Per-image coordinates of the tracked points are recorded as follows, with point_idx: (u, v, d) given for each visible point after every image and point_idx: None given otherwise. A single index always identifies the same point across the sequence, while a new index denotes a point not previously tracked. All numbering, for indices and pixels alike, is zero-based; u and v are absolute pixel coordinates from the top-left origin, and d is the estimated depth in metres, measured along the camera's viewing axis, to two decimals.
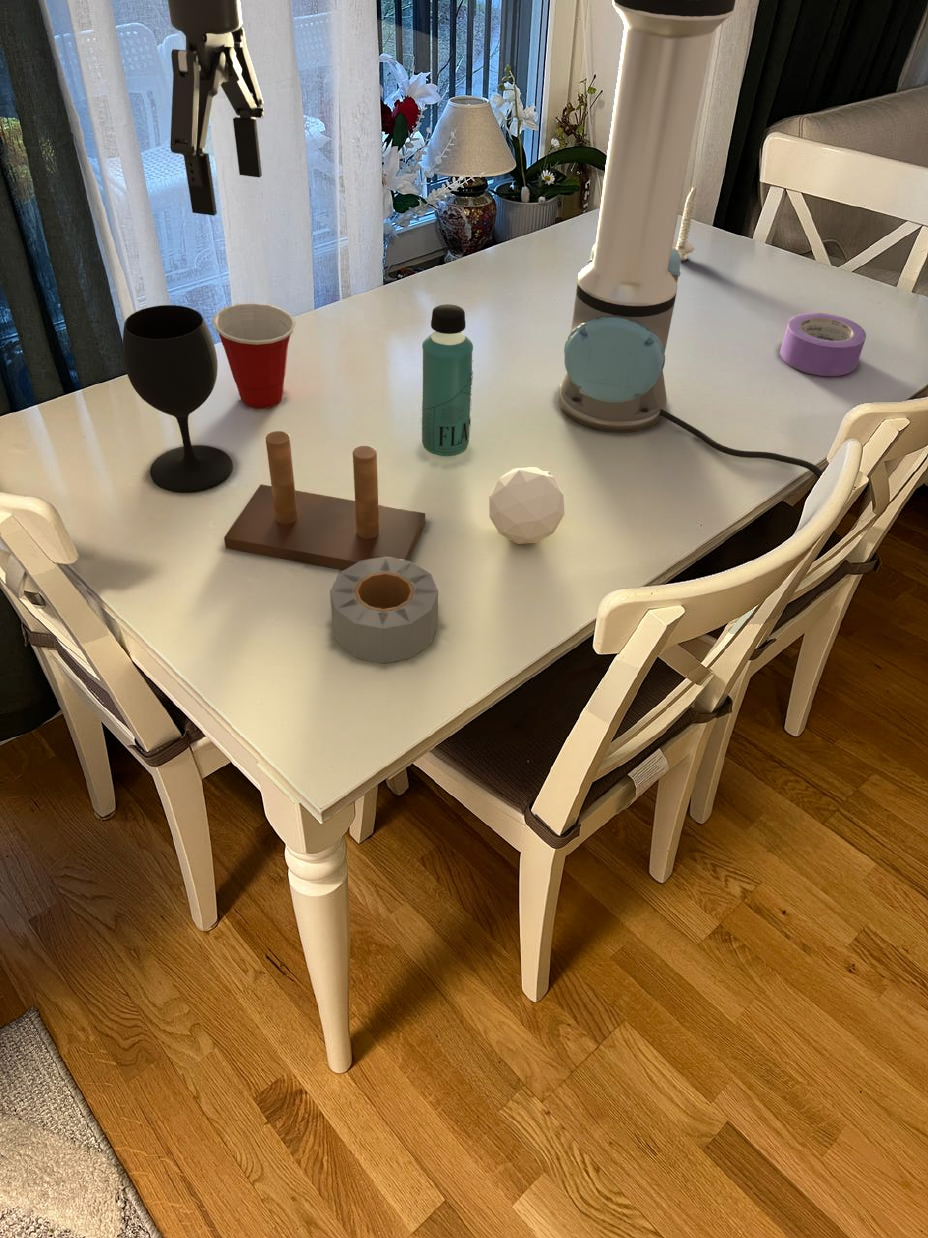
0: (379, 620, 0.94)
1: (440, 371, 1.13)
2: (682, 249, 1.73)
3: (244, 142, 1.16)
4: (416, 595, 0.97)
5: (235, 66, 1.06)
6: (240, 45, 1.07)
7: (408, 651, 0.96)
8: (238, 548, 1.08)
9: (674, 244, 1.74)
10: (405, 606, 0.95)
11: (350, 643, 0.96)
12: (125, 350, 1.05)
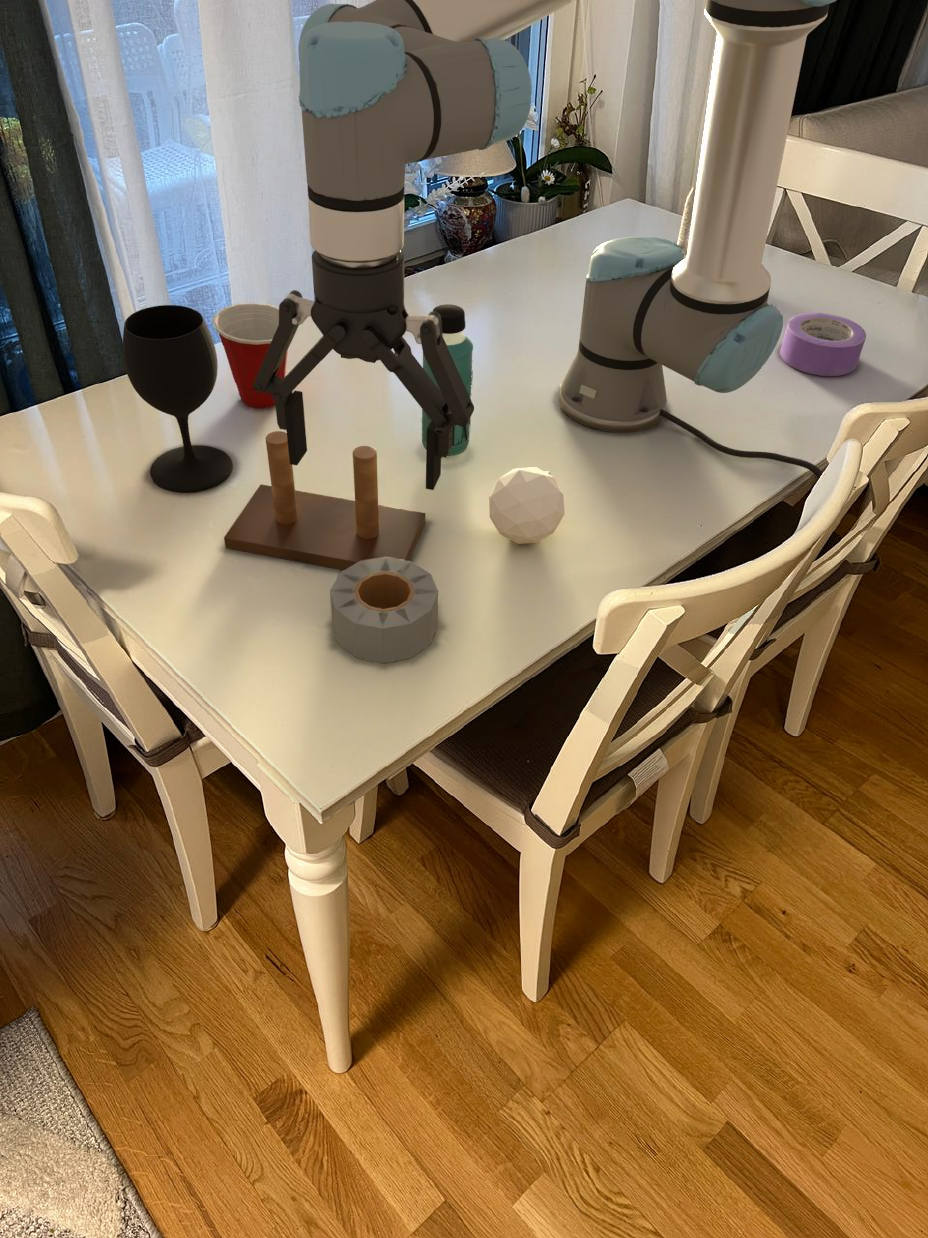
0: (379, 620, 0.94)
1: None
2: (682, 249, 1.73)
3: None
4: (416, 595, 0.97)
5: (380, 354, 0.80)
6: (416, 340, 0.79)
7: (408, 651, 0.96)
8: (238, 548, 1.08)
9: None
10: (405, 606, 0.95)
11: (350, 643, 0.96)
12: (125, 350, 1.05)
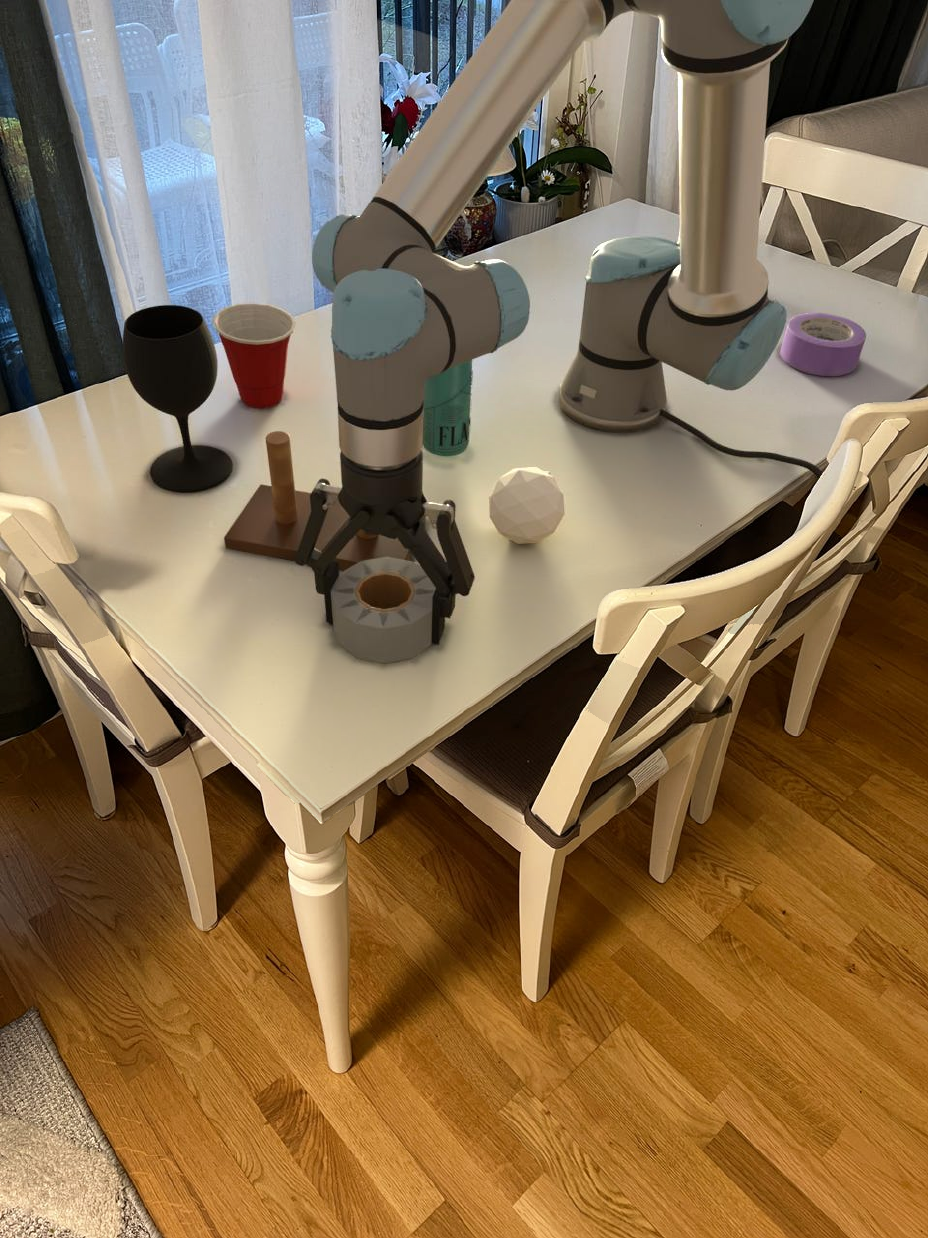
0: (380, 620, 0.94)
1: None
2: None
3: None
4: (417, 595, 0.97)
5: (399, 534, 0.89)
6: (432, 526, 0.88)
7: (409, 651, 0.96)
8: (238, 548, 1.08)
9: None
10: (406, 606, 0.95)
11: (350, 644, 0.96)
12: (125, 350, 1.05)
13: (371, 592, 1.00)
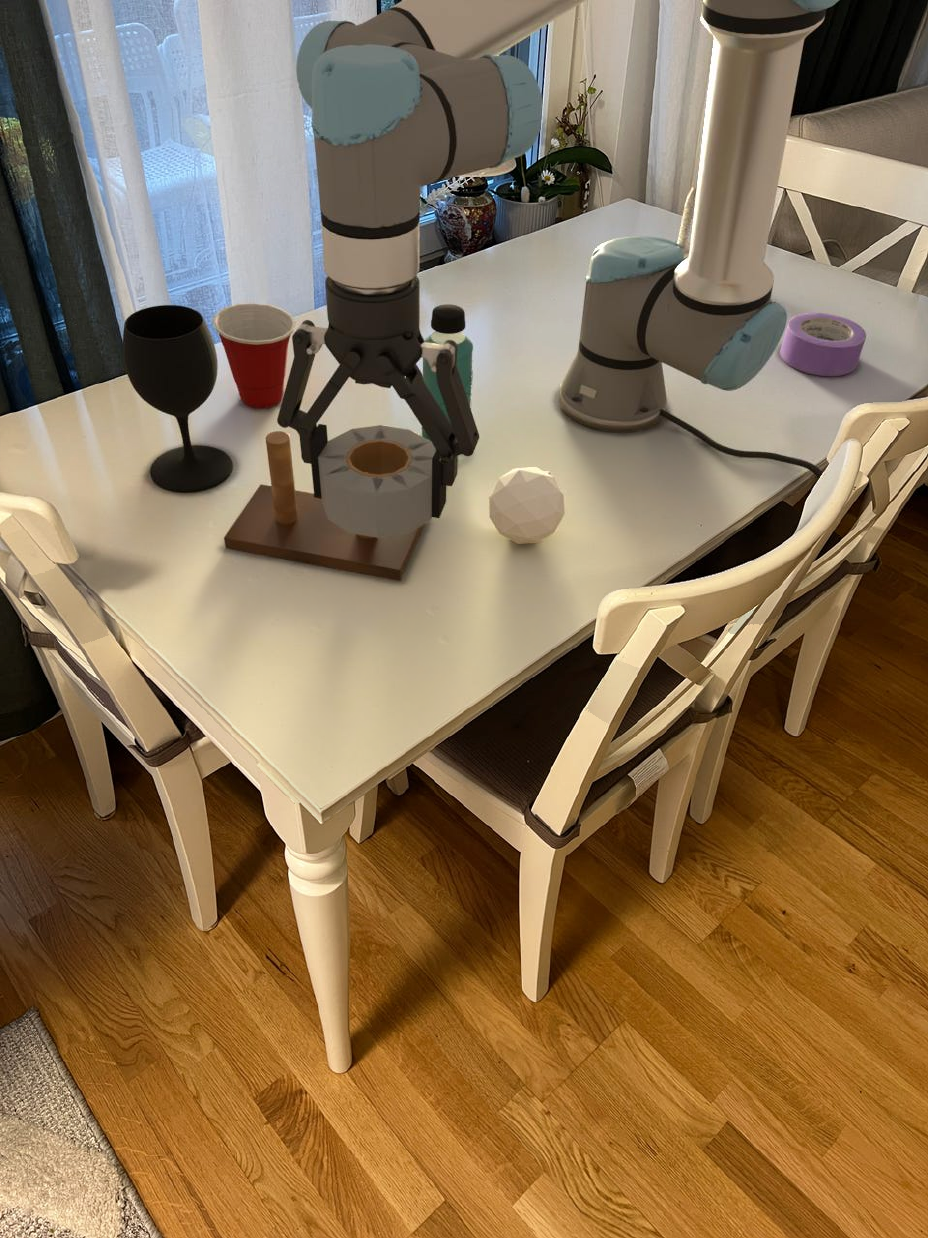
0: (373, 486, 0.83)
1: None
2: (682, 249, 1.73)
3: None
4: (415, 461, 0.86)
5: (393, 380, 0.79)
6: (431, 368, 0.78)
7: (406, 524, 0.86)
8: (238, 548, 1.08)
9: None
10: (402, 472, 0.85)
11: (341, 516, 0.86)
12: (125, 350, 1.05)
13: (364, 463, 0.89)
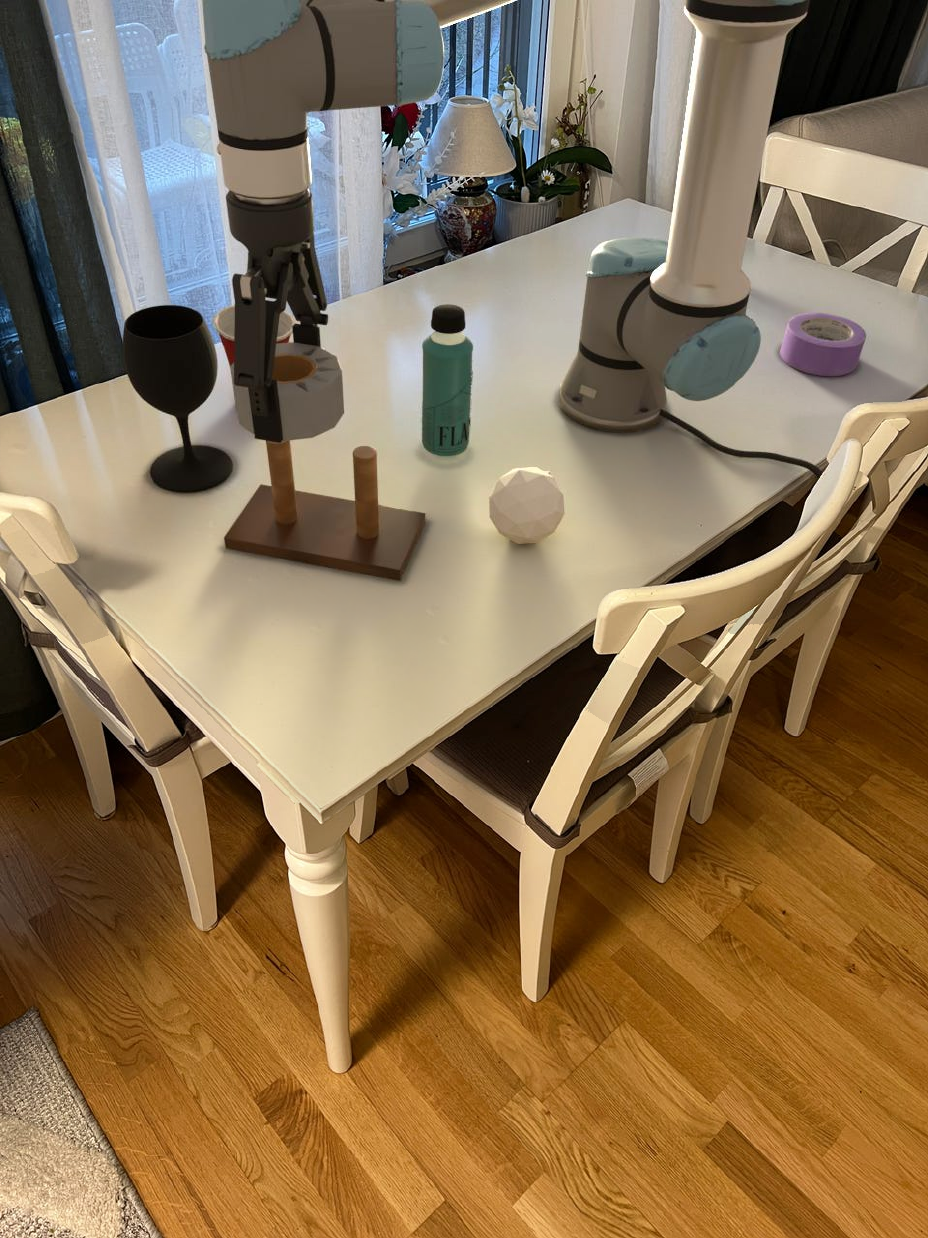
0: (330, 371, 0.94)
1: (440, 371, 1.13)
2: None
3: None
4: (296, 352, 0.97)
5: (302, 272, 0.89)
6: (308, 245, 0.91)
7: None
8: (238, 548, 1.08)
9: None
10: (311, 358, 0.96)
11: (327, 417, 0.94)
12: (125, 350, 1.05)
13: None
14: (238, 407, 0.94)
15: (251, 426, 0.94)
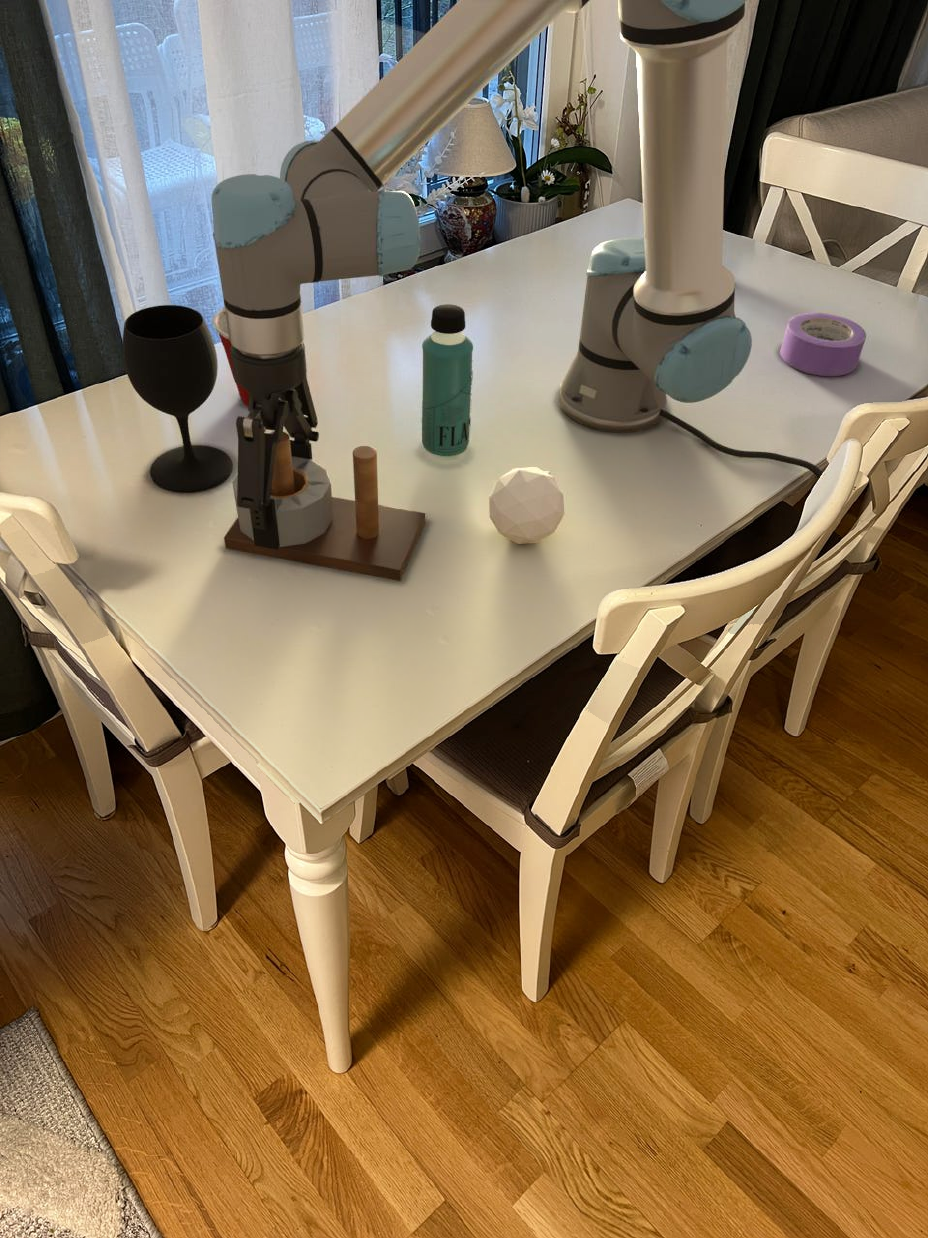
0: (320, 484, 1.07)
1: (440, 371, 1.13)
2: None
3: None
4: None
5: (296, 405, 1.02)
6: None
7: None
8: (238, 548, 1.08)
9: None
10: (304, 471, 1.09)
11: (318, 525, 1.07)
12: (125, 350, 1.05)
13: None
14: (240, 517, 1.07)
15: (251, 534, 1.07)
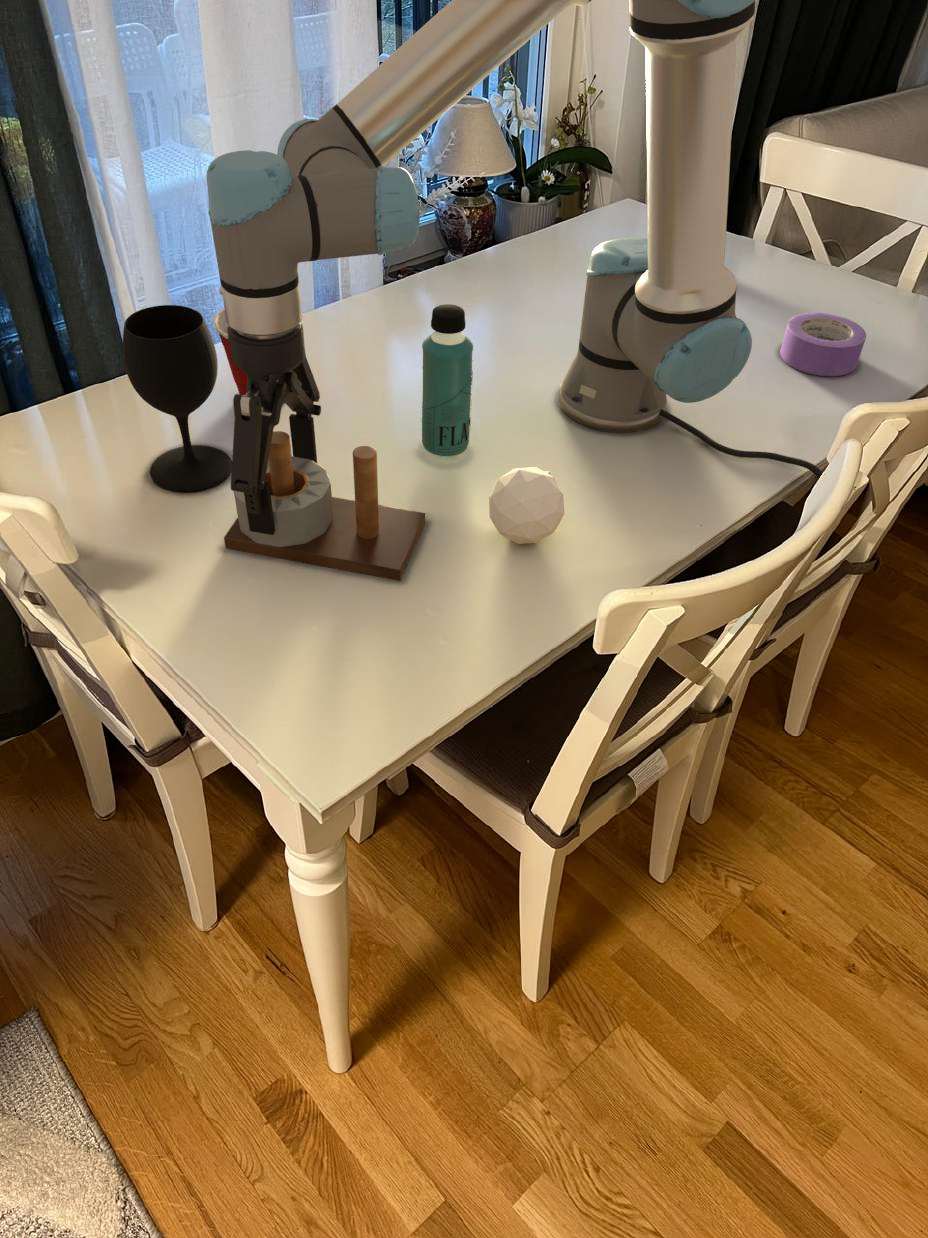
0: (320, 484, 1.07)
1: (440, 371, 1.13)
2: None
3: (300, 438, 1.11)
4: None
5: (295, 385, 1.01)
6: None
7: None
8: (238, 548, 1.08)
9: None
10: (303, 471, 1.09)
11: (318, 525, 1.07)
12: (125, 350, 1.05)
13: None
14: (240, 518, 1.07)
15: (251, 534, 1.07)
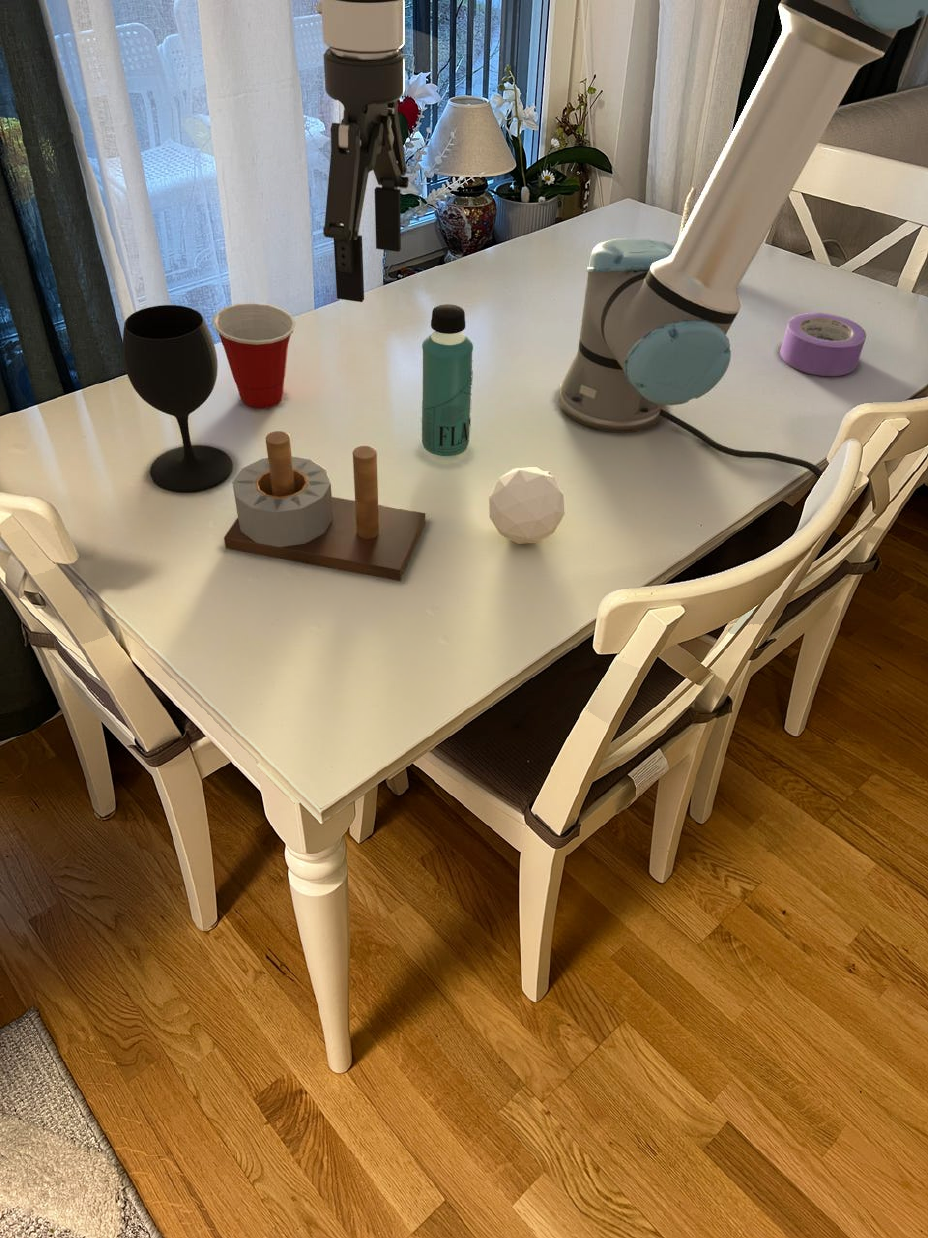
0: (320, 484, 1.07)
1: (440, 371, 1.13)
2: None
3: (385, 215, 1.04)
4: None
5: (389, 136, 0.94)
6: (393, 111, 0.95)
7: None
8: (238, 548, 1.08)
9: (674, 244, 1.74)
10: (303, 471, 1.09)
11: (318, 525, 1.07)
12: (125, 350, 1.05)
13: None
14: (240, 518, 1.07)
15: (251, 534, 1.07)
